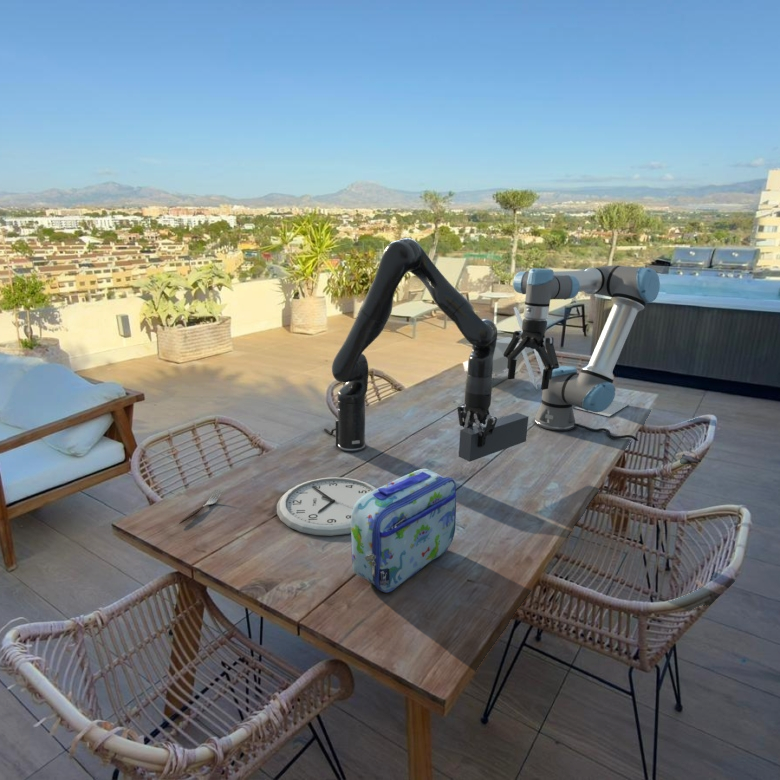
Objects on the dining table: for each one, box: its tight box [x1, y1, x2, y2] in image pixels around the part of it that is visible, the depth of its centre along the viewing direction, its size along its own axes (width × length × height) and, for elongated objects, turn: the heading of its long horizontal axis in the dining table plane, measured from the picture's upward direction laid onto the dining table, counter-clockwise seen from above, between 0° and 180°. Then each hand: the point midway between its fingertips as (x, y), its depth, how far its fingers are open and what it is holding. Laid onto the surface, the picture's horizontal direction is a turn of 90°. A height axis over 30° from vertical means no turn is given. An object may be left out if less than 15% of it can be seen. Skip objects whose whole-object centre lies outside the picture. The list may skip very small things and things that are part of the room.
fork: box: [178, 489, 223, 525], centre depth 139 cm, size 3×16×2 cm, turn 160°
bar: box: [458, 412, 529, 462], centre depth 161 cm, size 26×5×9 cm, turn 128°
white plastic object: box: [462, 306, 545, 390], centre depth 260 cm, size 37×45×31 cm
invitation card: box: [573, 400, 629, 418], centre depth 226 cm, size 21×1×15 cm
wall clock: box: [276, 476, 378, 537], centre depth 142 cm, size 30×2×30 cm
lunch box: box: [350, 468, 457, 593], centre depth 114 cm, size 26×11×21 cm, turn 134°
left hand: (474, 443), depth 156 cm, fingers closed on bar, 4 cm apart
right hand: (527, 383), depth 170 cm, fingers open, 13 cm apart
